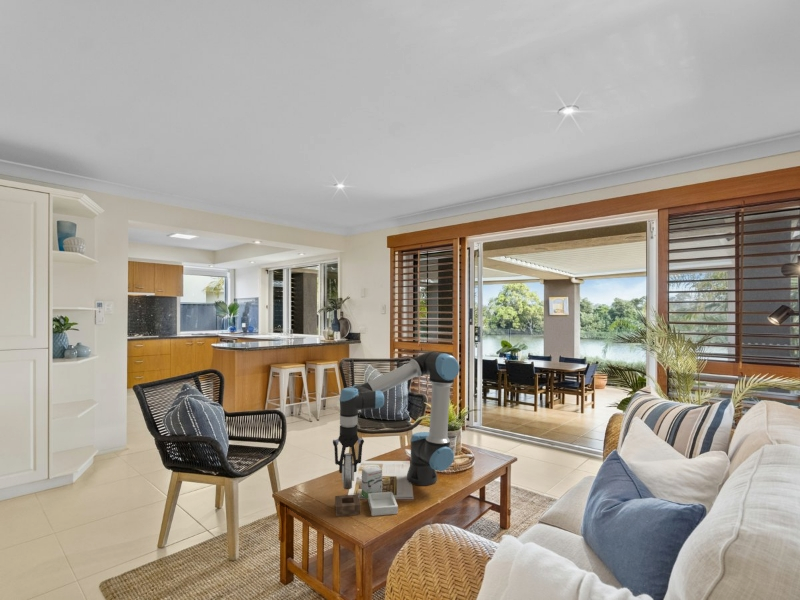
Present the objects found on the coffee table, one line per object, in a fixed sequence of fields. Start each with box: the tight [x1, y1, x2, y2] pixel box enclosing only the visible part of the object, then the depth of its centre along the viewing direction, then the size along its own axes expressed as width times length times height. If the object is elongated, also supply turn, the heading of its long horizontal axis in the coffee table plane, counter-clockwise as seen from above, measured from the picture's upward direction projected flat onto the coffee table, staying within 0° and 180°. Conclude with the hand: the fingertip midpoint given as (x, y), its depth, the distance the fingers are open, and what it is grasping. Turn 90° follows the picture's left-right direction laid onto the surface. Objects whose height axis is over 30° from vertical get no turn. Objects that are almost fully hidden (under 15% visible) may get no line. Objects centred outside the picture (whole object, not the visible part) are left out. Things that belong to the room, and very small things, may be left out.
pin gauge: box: [342, 452, 353, 490], centre depth 180 cm, size 4×4×14 cm
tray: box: [367, 491, 399, 517], centre depth 183 cm, size 11×14×3 cm
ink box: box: [361, 465, 383, 500], centre depth 195 cm, size 9×5×12 cm, turn 123°
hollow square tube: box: [334, 493, 362, 517], centre depth 180 cm, size 10×10×4 cm
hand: (347, 479), depth 180 cm, fingers closed on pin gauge, 4 cm apart
